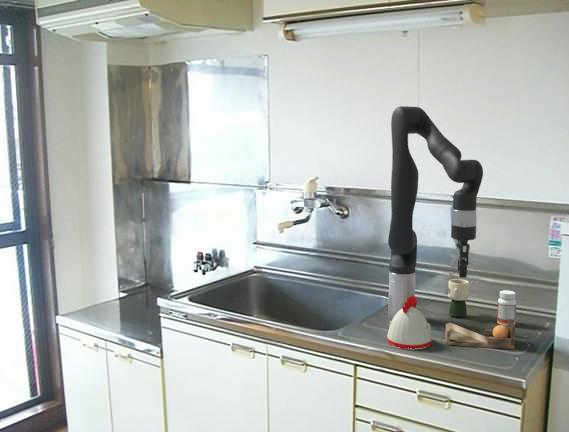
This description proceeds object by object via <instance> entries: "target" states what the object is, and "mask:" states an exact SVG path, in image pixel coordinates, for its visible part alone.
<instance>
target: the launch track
mask: <svg viewBox="0 0 569 432" xmlns="http://www.w3.org/2000/svg"><path fill="white" fill-rule="evenodd" d="M507 328H508V330H509V337H508V338H494V336H493V329H484V335H482V334H480V333H477V332H475V331H473V330H470V329H467V328H465V327H462V326H459V325H457V324H454V323H452V322H448V323H445V342H446V345H447V346H453V345H455V346H458V347H469V348H470V347H471V348H473V347H476V348H490V349H508V350H509V349H510V350H515V340H516V326H515V325H514V324H513V322H512V320H511V319H508V326H507Z"/></svg>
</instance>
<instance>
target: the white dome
mask: <svg viewBox="0 0 569 432" xmlns="http://www.w3.org/2000/svg"><path fill="white" fill-rule="evenodd" d="M417 305H418V298H416V295H415V296H412V297H410V298H408V297H407V302H405V307H402V309H401V310H400V311H398V312H397V314H396V315H395V316H394V318H393V320H388V321H389V322H388V328H389V329H388V331H387V336H386V337H387V339H386V342H387V341H388V342H387V344H388V343H390V344H391V345H393V346H396V347H400V348H407V349H408V348H409V349H410V348H412V349H415V348H424V347H427V346H429V345H430V346H431V345H432V328H431V324H430V323H428V321H427V319H426V318H425V316H424V314H423V313H422V312H421V311H420V310H419V309H417ZM391 345H390V346H391ZM393 346H392V347H393ZM430 346H429V347H430ZM396 347H395V348H396ZM400 348H399V349H400ZM427 348H428V347H427Z"/></svg>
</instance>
